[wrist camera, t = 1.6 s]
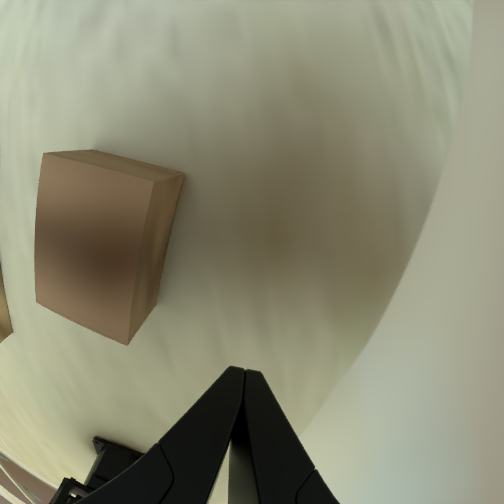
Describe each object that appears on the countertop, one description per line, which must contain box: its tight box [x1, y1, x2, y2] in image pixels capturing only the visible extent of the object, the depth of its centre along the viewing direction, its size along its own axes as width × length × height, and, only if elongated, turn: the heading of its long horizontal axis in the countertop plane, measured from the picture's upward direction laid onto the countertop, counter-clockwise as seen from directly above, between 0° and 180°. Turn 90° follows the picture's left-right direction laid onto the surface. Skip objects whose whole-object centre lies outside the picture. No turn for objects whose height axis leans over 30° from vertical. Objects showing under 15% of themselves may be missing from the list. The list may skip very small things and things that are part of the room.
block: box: [34, 150, 185, 345], centre depth 14 cm, size 8×6×4 cm
